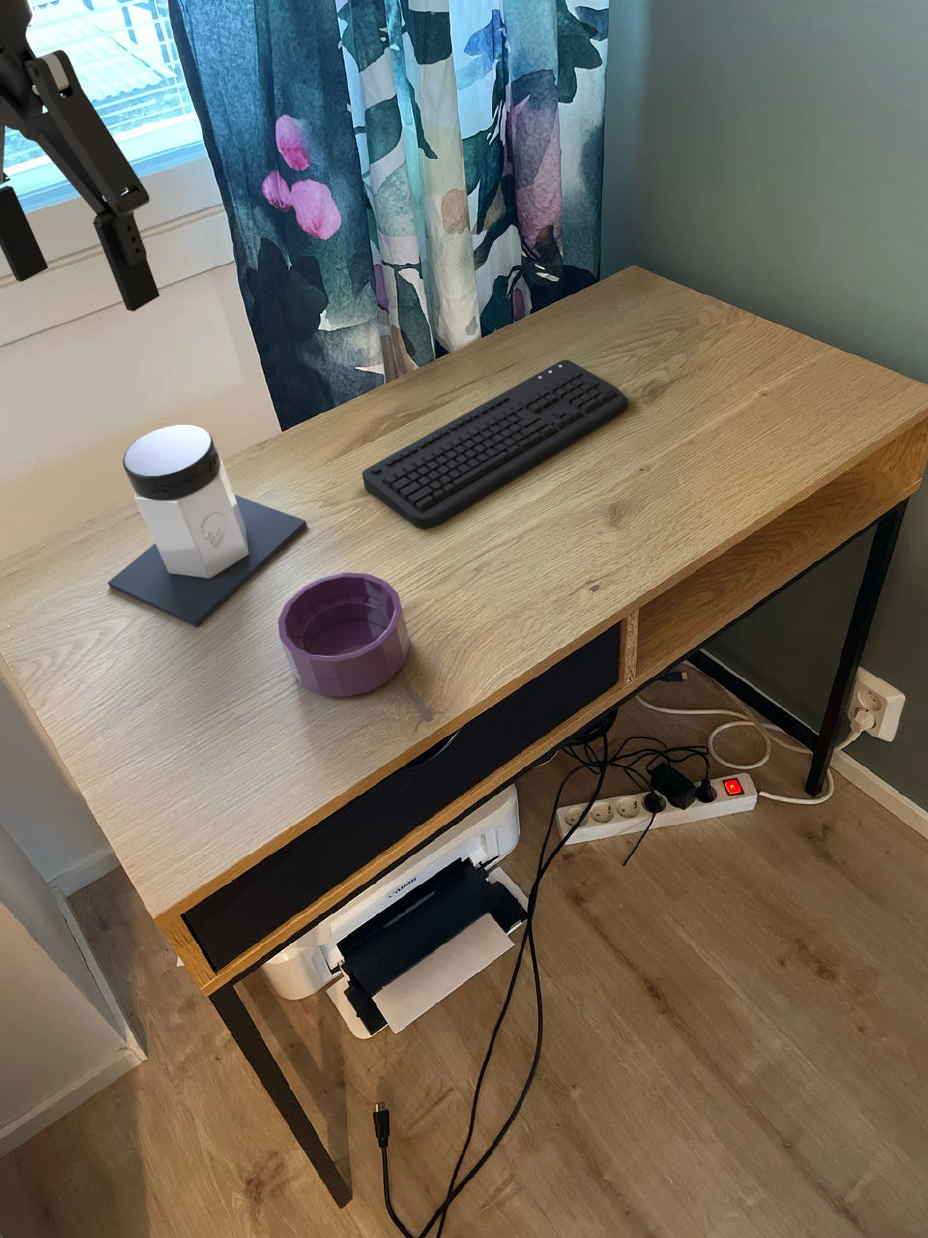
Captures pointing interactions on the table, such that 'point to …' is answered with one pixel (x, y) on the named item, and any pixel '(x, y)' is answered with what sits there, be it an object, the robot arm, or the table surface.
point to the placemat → (204, 595)
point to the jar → (186, 500)
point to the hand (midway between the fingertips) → (85, 288)
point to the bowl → (344, 634)
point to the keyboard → (493, 444)
